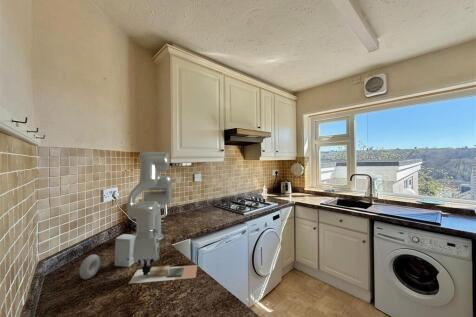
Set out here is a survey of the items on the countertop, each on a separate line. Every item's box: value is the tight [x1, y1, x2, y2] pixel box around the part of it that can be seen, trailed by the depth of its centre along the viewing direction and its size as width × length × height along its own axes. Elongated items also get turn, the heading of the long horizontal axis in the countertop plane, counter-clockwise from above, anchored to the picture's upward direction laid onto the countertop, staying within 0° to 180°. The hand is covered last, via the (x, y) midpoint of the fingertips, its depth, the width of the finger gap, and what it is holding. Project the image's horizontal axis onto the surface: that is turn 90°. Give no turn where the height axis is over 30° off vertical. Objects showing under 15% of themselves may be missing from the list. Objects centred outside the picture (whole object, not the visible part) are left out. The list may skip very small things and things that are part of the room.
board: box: [128, 264, 198, 285], centre depth 88 cm, size 10×28×1 cm, turn 97°
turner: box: [150, 265, 184, 277], centre depth 88 cm, size 14×6×3 cm, turn 97°
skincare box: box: [114, 233, 137, 268], centre depth 97 cm, size 8×6×15 cm
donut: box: [79, 254, 101, 280], centre depth 88 cm, size 10×4×10 cm, turn 178°
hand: (146, 273), depth 87 cm, fingers closed
